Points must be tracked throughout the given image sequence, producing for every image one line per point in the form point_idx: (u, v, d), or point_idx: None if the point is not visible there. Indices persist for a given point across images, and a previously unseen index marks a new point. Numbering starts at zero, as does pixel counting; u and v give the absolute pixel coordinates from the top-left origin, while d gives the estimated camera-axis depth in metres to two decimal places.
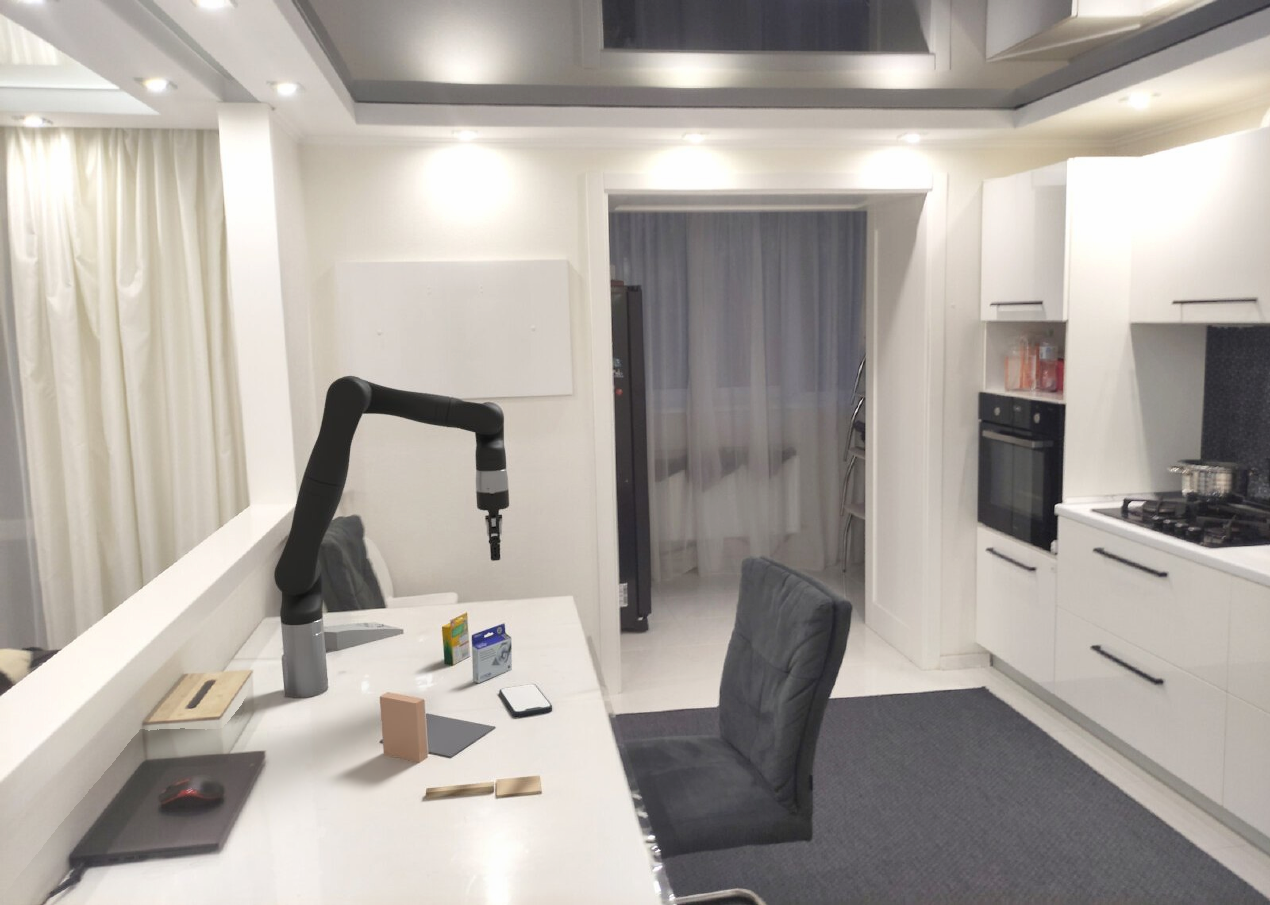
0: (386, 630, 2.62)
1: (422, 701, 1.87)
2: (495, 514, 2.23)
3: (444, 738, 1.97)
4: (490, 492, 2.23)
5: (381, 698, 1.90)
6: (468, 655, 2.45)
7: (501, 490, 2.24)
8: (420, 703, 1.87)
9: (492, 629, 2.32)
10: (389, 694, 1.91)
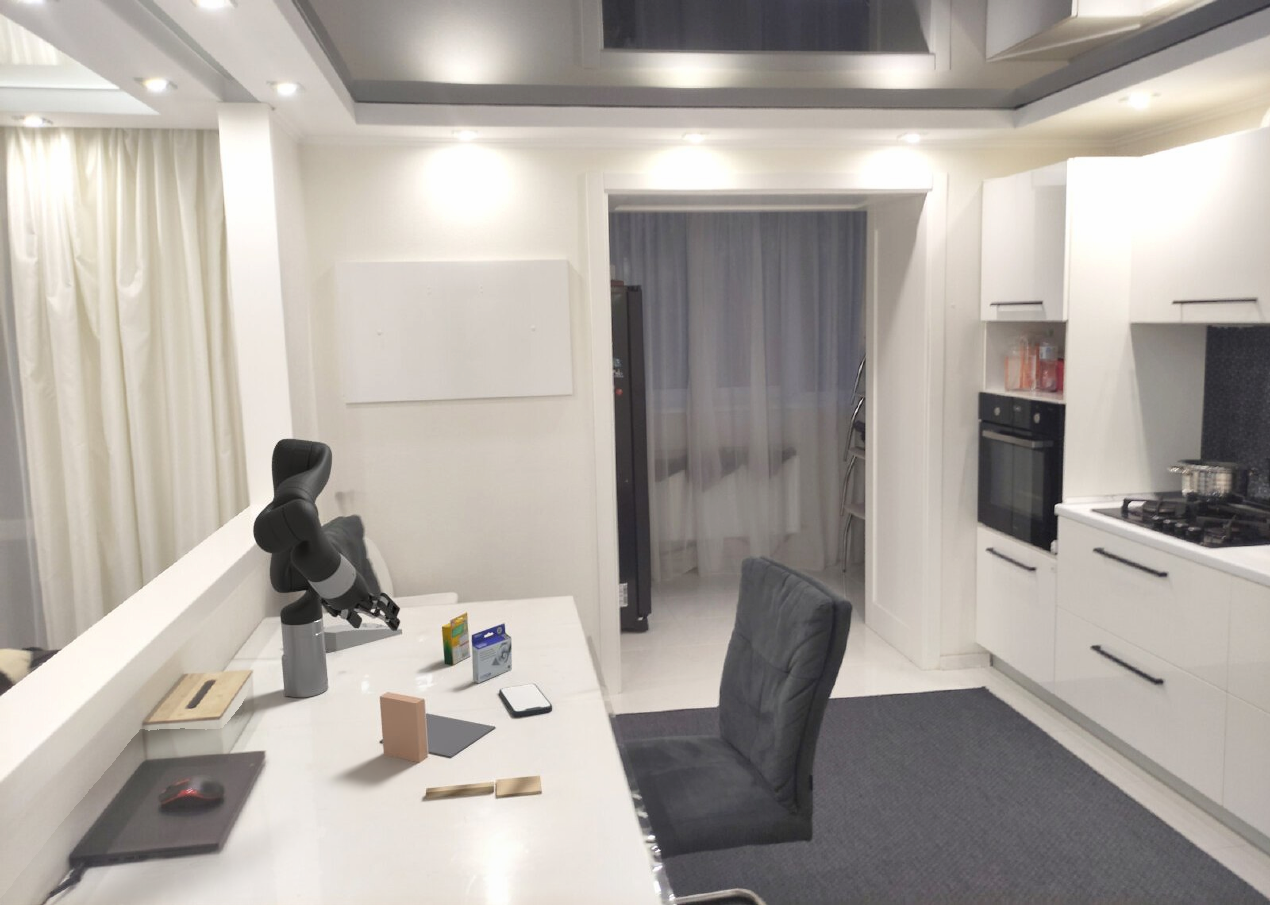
0: (385, 630, 2.62)
1: (422, 701, 1.87)
2: None
3: (444, 738, 1.97)
4: None
5: (381, 698, 1.90)
6: (468, 655, 2.45)
7: None
8: (420, 703, 1.87)
9: (492, 629, 2.32)
10: (389, 694, 1.91)
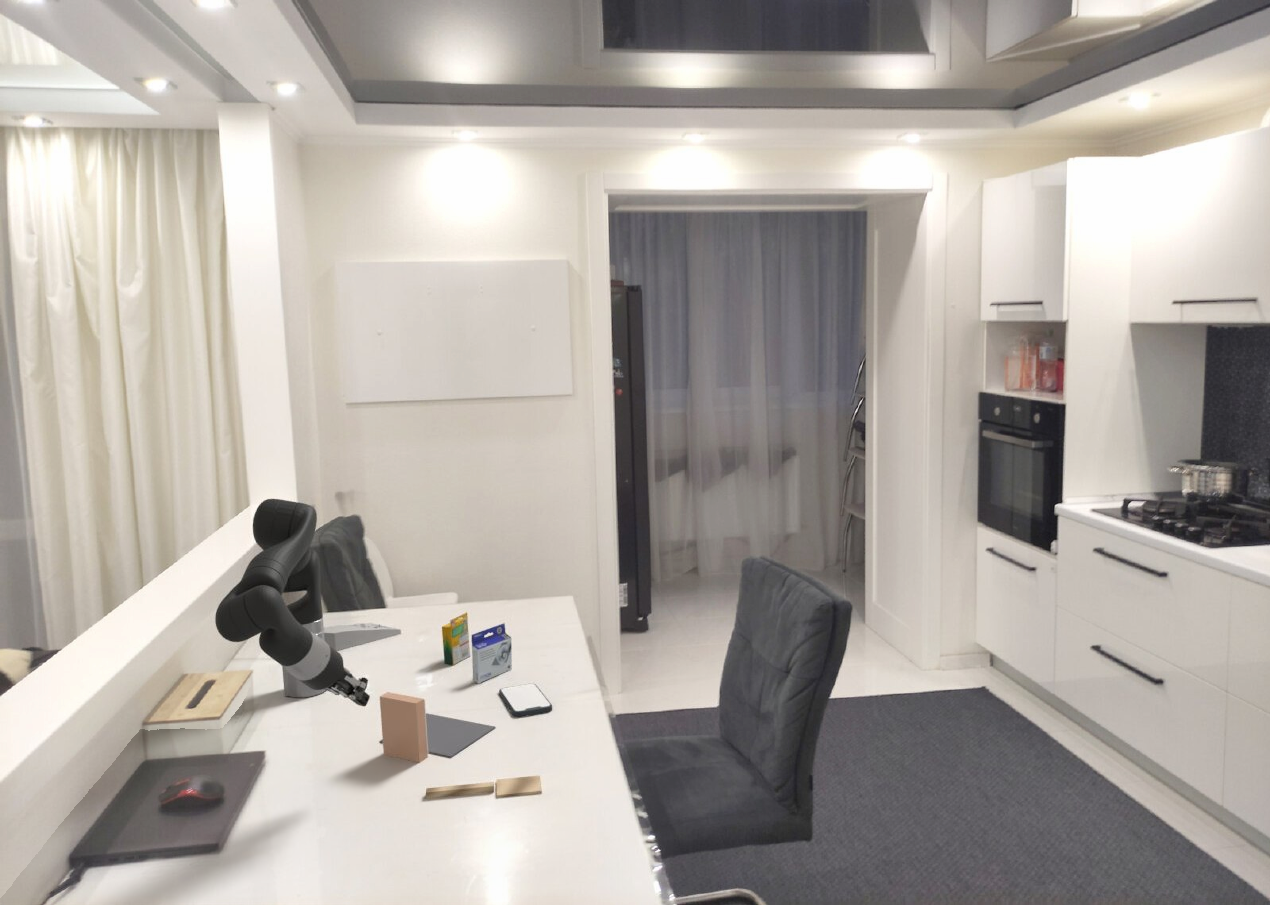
0: (384, 631, 2.62)
1: (422, 701, 1.87)
2: None
3: (444, 738, 1.97)
4: None
5: (381, 698, 1.89)
6: (468, 655, 2.45)
7: None
8: (420, 703, 1.87)
9: (492, 629, 2.32)
10: (389, 694, 1.90)
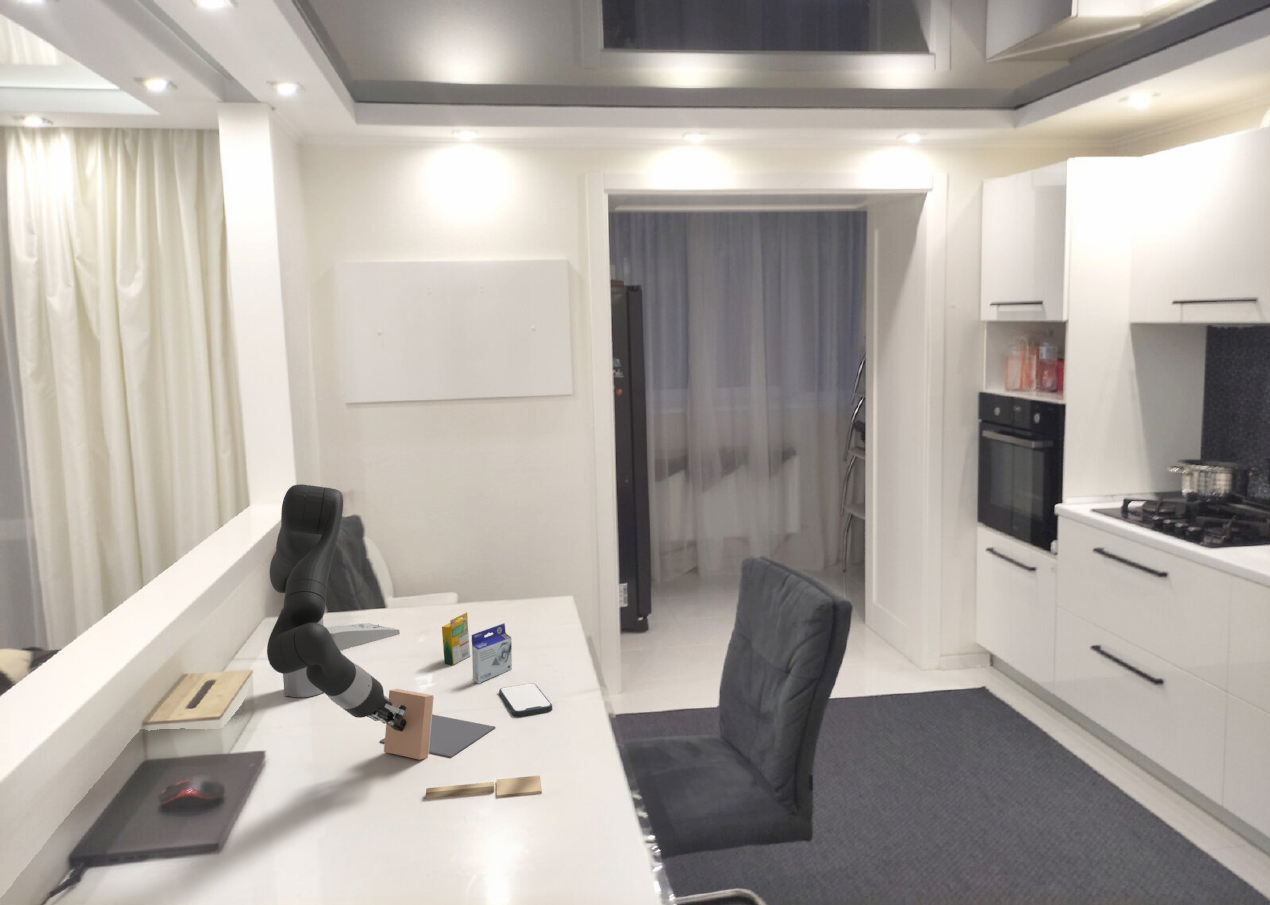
0: (382, 631, 2.62)
1: (431, 697, 1.90)
2: None
3: (444, 738, 1.97)
4: None
5: (390, 692, 1.92)
6: (468, 655, 2.45)
7: None
8: (429, 698, 1.89)
9: (492, 629, 2.32)
10: (398, 690, 1.93)
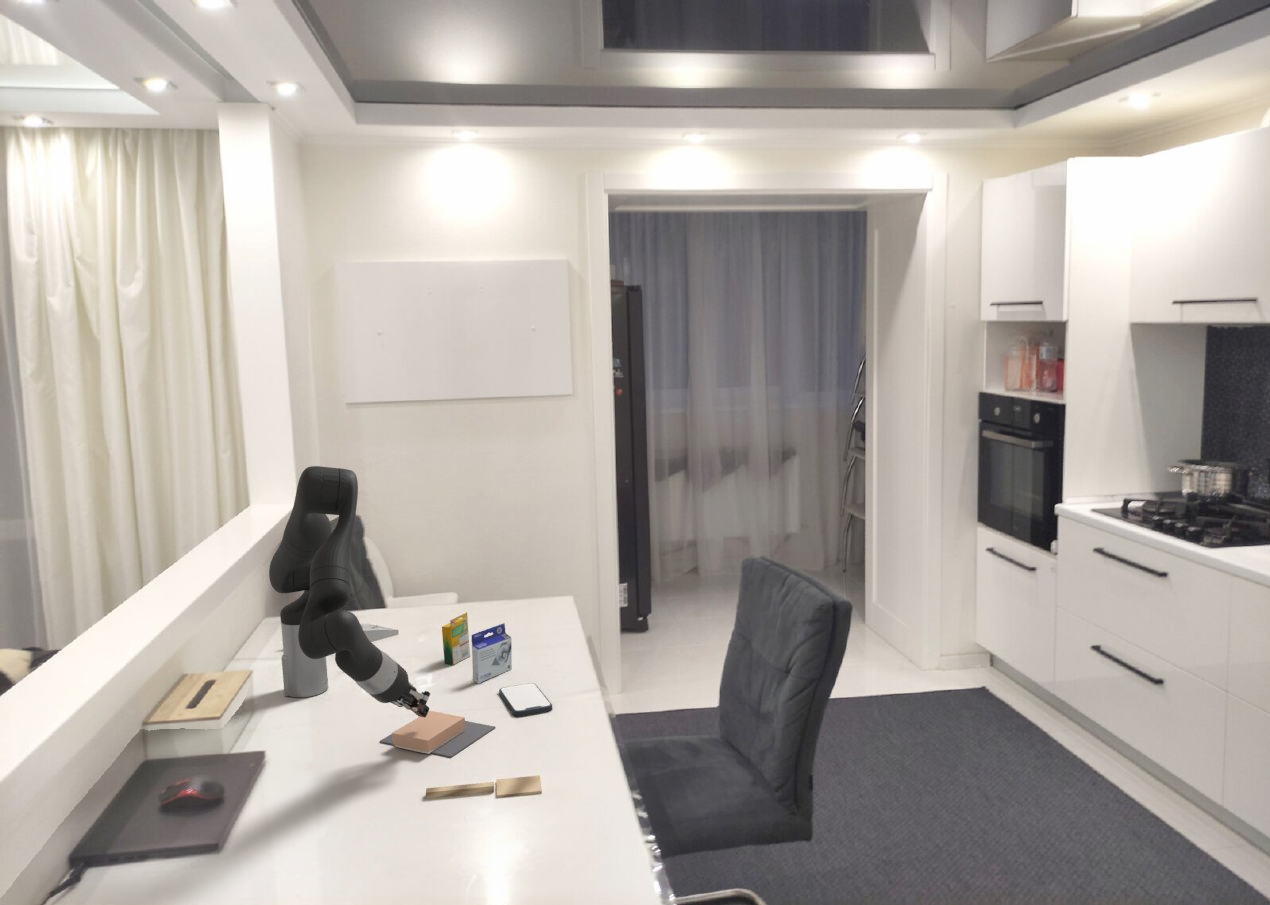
0: (381, 631, 2.62)
1: (464, 726, 2.00)
2: None
3: None
4: None
5: (430, 711, 2.03)
6: (468, 655, 2.45)
7: None
8: (463, 723, 1.99)
9: (492, 629, 2.32)
10: None
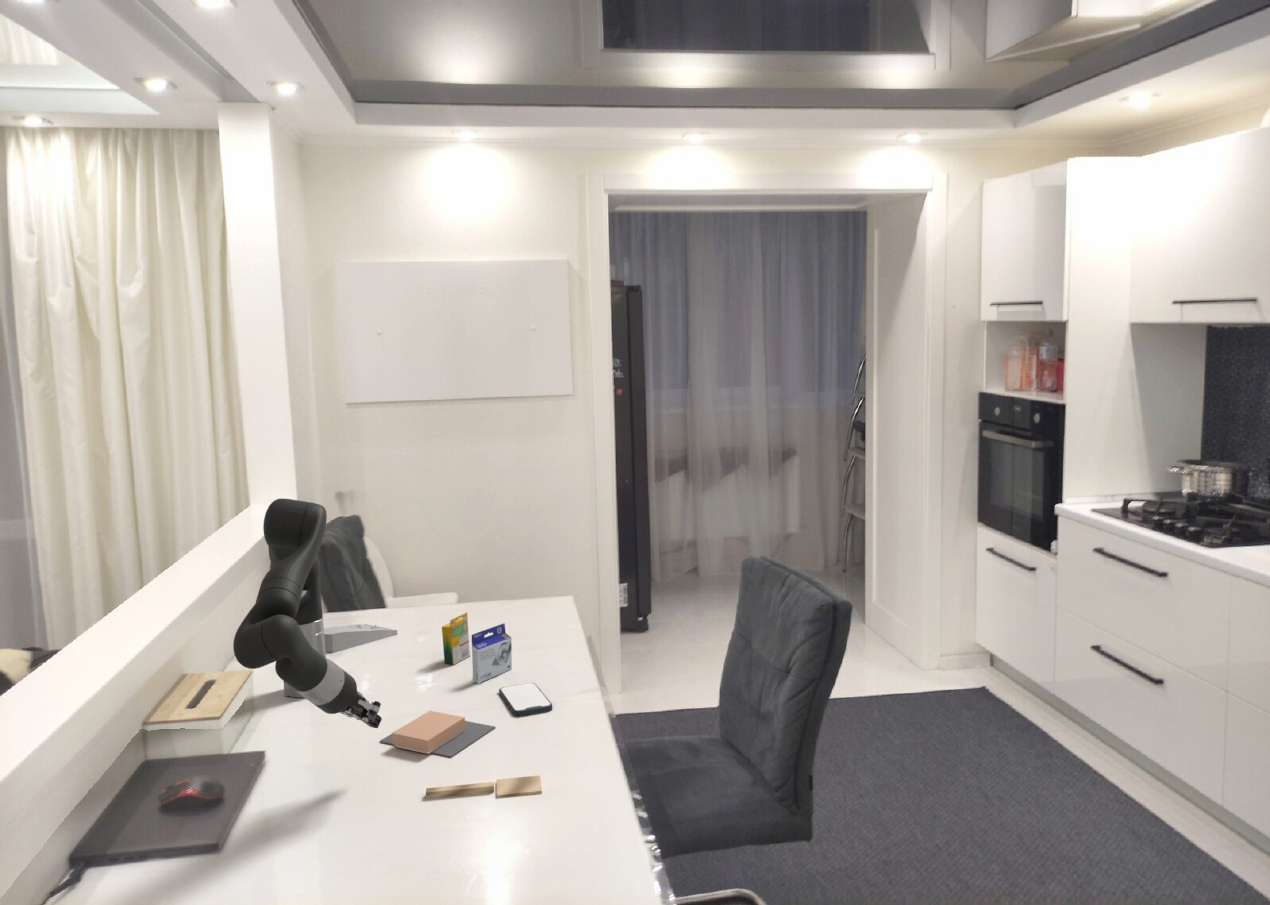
0: (380, 631, 2.62)
1: (464, 726, 2.00)
2: None
3: None
4: None
5: (430, 711, 2.03)
6: (468, 655, 2.45)
7: None
8: (463, 723, 1.99)
9: (492, 629, 2.32)
10: None
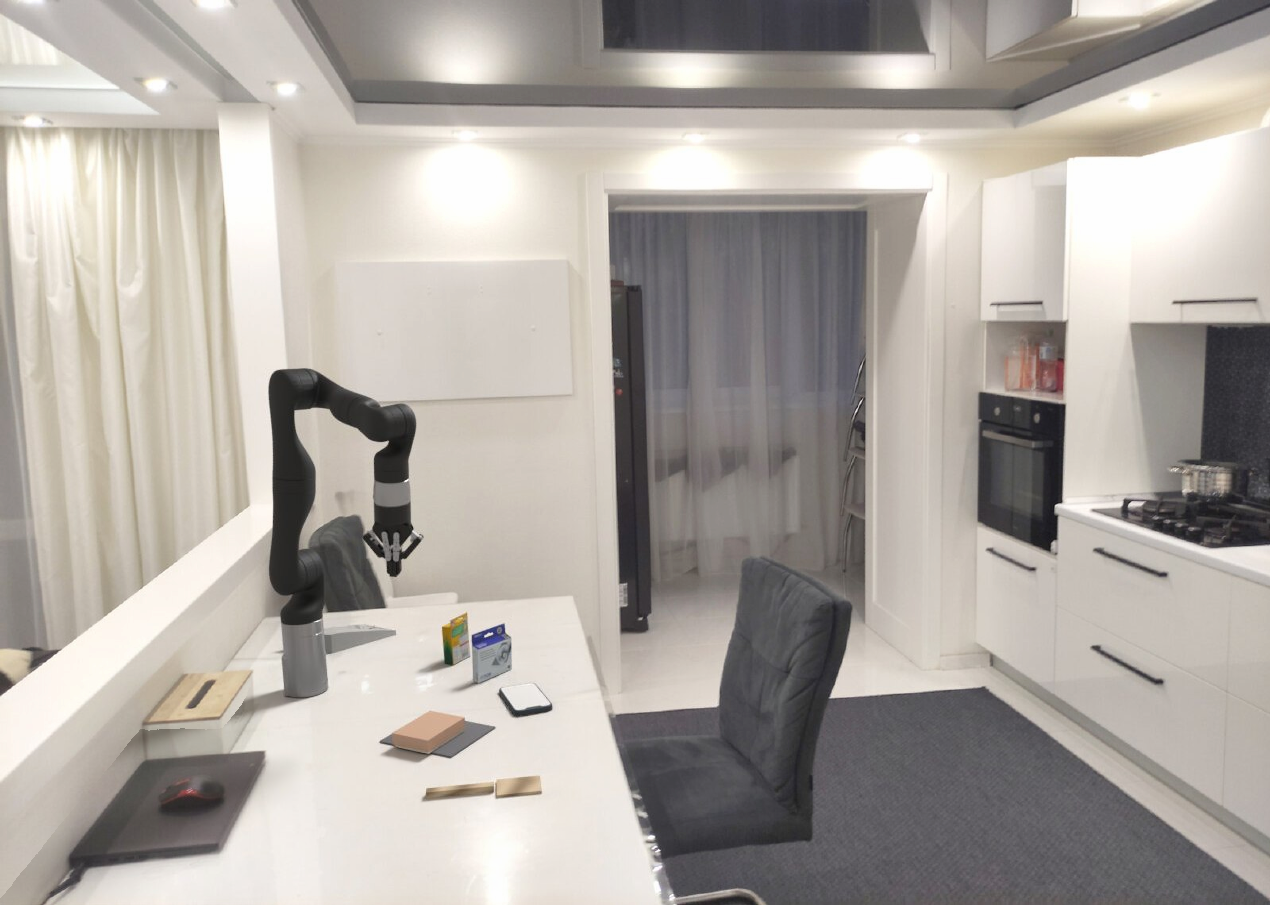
0: (379, 632, 2.61)
1: (464, 726, 2.00)
2: None
3: None
4: None
5: (430, 711, 2.03)
6: (468, 655, 2.45)
7: (374, 502, 2.00)
8: (463, 723, 1.99)
9: (492, 629, 2.32)
10: None
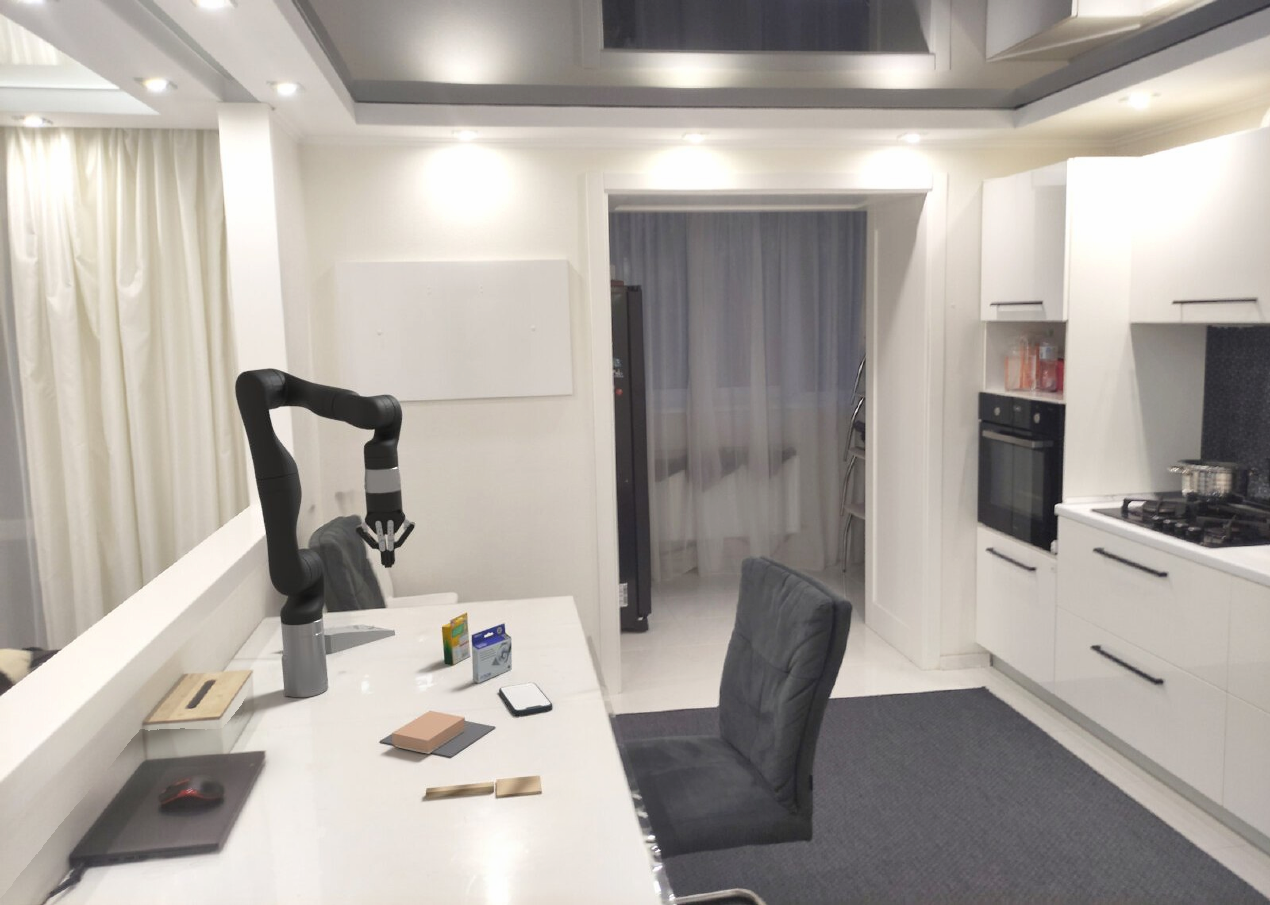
0: (378, 632, 2.61)
1: (464, 726, 2.00)
2: None
3: None
4: None
5: (430, 711, 2.03)
6: (468, 655, 2.45)
7: (367, 491, 2.05)
8: (463, 723, 1.99)
9: (492, 629, 2.32)
10: None
